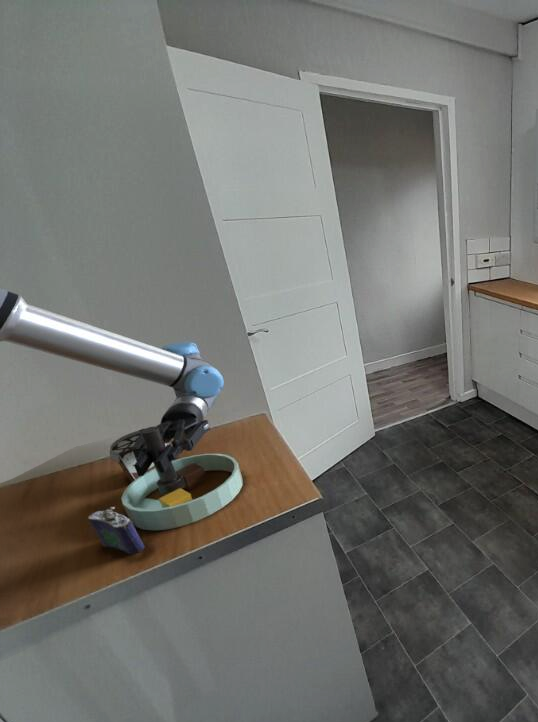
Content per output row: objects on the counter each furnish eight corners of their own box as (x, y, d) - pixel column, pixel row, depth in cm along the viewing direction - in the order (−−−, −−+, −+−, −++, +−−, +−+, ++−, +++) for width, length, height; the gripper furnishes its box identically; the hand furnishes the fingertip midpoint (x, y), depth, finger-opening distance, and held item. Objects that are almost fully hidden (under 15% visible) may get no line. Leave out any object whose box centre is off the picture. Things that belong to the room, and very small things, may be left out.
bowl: (112, 511, 88) (102, 490, 86) (213, 463, 105) (206, 445, 102) (161, 546, 79) (151, 524, 77) (262, 488, 96) (257, 468, 94)
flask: (103, 553, 78) (79, 509, 73) (121, 541, 80) (98, 499, 76) (138, 565, 75) (115, 521, 71) (155, 553, 78) (134, 510, 73)
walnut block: (180, 485, 95) (174, 471, 93) (199, 476, 98) (194, 462, 97) (189, 491, 93) (184, 476, 92) (208, 481, 97) (203, 467, 95)
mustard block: (164, 513, 87) (158, 498, 85) (185, 502, 90) (180, 487, 88) (174, 520, 85) (168, 504, 83) (195, 508, 88) (190, 493, 86)
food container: (158, 456, 106) (143, 423, 102) (179, 459, 106) (165, 425, 101) (109, 487, 95) (91, 452, 91) (132, 490, 94) (115, 454, 90)
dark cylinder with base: (163, 485, 91) (139, 426, 85) (187, 480, 93) (166, 422, 86) (157, 497, 87) (132, 437, 81) (182, 492, 89) (159, 432, 83)
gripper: (226, 423, 106) (202, 475, 86) (151, 434, 100) (106, 493, 80) (218, 397, 103) (191, 445, 83) (140, 407, 97) (91, 461, 77)
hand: (149, 468), depth 82 cm, fingers closed on dark cylinder with base, 3 cm apart
